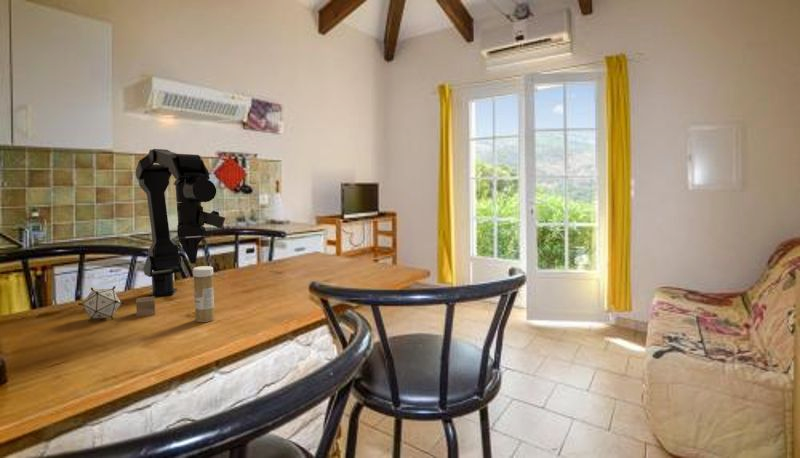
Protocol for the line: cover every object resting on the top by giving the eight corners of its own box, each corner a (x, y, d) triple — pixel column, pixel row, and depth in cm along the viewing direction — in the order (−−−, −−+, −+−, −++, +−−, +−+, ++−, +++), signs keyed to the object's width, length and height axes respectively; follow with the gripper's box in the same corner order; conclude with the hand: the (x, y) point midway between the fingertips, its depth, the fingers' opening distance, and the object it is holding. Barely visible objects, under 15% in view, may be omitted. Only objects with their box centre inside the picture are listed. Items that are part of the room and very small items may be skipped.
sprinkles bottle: (191, 320, 103) (189, 267, 101) (210, 315, 106) (207, 264, 105) (200, 324, 100) (197, 270, 99) (218, 319, 104) (216, 267, 102)
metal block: (137, 313, 108) (136, 298, 108) (155, 310, 110) (154, 296, 110) (136, 317, 105) (136, 302, 104) (155, 315, 107) (154, 300, 106)
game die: (105, 335, 102) (93, 311, 95) (78, 321, 103) (64, 296, 97) (135, 309, 109) (126, 285, 102) (109, 296, 110) (98, 271, 103)
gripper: (225, 201, 104) (229, 262, 105) (219, 201, 120) (222, 254, 121) (175, 203, 98) (179, 267, 100) (175, 202, 115) (179, 257, 116)
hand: (192, 261), depth 109 cm, fingers open, 9 cm apart
